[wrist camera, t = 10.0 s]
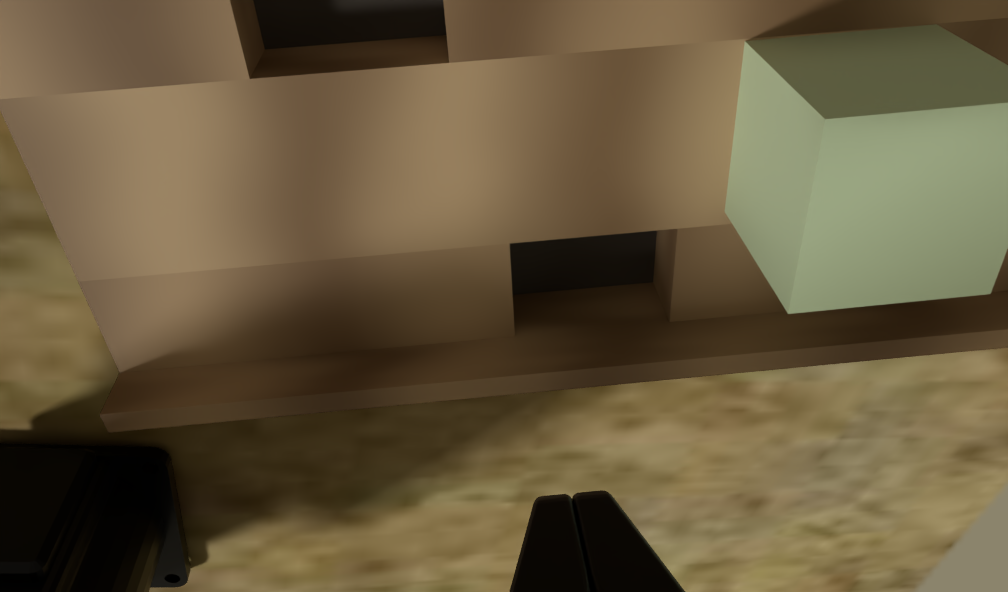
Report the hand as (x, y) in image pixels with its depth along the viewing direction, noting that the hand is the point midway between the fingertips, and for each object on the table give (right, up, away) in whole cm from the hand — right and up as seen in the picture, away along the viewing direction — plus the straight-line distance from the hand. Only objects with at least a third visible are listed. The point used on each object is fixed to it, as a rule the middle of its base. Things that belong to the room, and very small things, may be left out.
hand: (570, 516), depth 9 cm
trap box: (+2, +7, +10) cm, 12 cm away
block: (+6, +6, +8) cm, 12 cm away
